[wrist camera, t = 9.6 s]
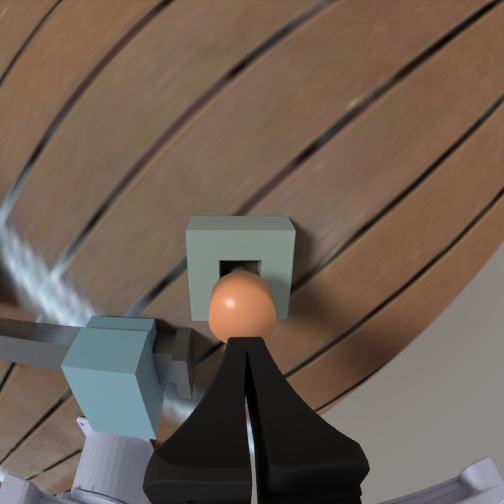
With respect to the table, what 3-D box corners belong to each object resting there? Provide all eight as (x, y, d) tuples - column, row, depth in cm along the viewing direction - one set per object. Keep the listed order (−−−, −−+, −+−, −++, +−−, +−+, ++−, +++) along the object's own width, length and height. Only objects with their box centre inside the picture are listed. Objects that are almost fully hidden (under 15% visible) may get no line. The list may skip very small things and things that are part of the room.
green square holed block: (281, 299, 22) (287, 319, 20) (195, 299, 22) (192, 320, 20) (288, 216, 20) (295, 230, 18) (191, 216, 20) (185, 230, 17)
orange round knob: (265, 298, 20) (274, 345, 16) (213, 298, 20) (210, 346, 16) (268, 250, 19) (278, 291, 14) (212, 250, 18) (207, 292, 14)
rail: (195, 366, 25) (191, 399, 21) (-10, 342, 23) (-27, 364, 20) (190, 327, 23) (186, 361, 20) (-24, 310, 22) (-43, 331, 18)
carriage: (166, 381, 25) (156, 439, 19) (111, 377, 24) (93, 431, 19) (153, 314, 22) (134, 374, 16) (91, 311, 21) (60, 365, 16)
